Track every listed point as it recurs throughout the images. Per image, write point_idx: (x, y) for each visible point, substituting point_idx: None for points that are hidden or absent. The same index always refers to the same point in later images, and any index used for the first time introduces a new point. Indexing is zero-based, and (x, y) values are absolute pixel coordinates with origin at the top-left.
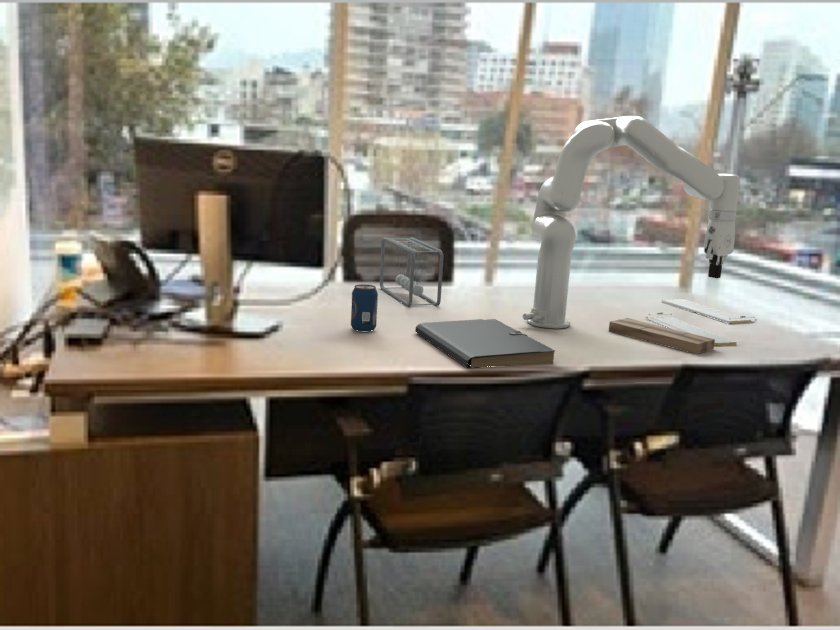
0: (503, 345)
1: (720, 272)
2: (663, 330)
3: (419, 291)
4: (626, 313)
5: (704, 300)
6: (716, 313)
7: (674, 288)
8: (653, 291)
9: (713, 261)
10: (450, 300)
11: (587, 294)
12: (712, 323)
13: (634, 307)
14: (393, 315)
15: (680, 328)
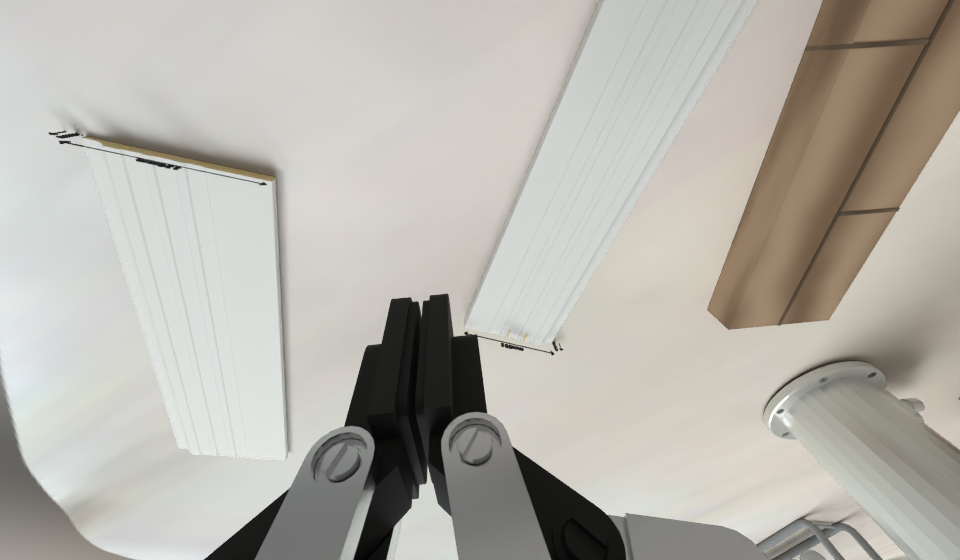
0: None
1: (403, 332)
2: (864, 147)
3: (823, 557)
4: (529, 405)
5: (84, 436)
6: (214, 296)
7: (96, 530)
8: (207, 521)
9: (557, 488)
10: None
11: (434, 527)
12: (352, 218)
13: None
14: None
15: (623, 199)
